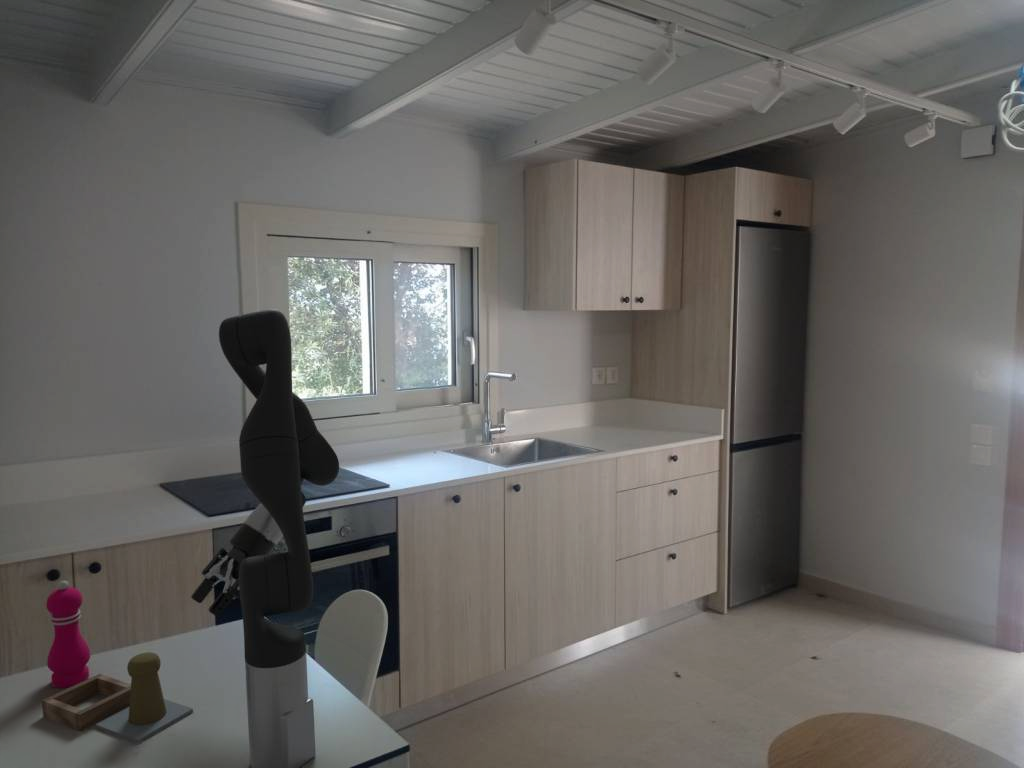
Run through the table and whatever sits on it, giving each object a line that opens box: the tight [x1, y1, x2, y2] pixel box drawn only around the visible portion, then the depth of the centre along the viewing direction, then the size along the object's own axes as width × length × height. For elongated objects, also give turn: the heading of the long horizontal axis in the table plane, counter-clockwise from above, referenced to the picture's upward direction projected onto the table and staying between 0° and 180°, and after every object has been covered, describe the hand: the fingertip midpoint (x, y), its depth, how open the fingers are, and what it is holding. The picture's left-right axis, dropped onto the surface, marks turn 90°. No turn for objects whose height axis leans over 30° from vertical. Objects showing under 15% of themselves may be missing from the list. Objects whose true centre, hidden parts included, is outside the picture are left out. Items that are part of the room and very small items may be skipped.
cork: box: [126, 651, 167, 725], centre depth 131 cm, size 6×6×11 cm
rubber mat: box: [95, 698, 194, 745], centre depth 132 cm, size 11×11×1 cm
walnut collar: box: [41, 673, 131, 732], centre depth 135 cm, size 11×11×3 cm
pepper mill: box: [45, 580, 91, 689], centre depth 145 cm, size 7×7×20 cm
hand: (203, 607), depth 137 cm, fingers open, 8 cm apart
